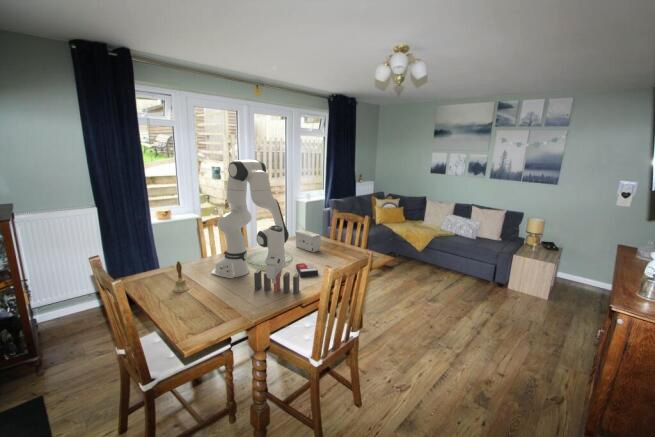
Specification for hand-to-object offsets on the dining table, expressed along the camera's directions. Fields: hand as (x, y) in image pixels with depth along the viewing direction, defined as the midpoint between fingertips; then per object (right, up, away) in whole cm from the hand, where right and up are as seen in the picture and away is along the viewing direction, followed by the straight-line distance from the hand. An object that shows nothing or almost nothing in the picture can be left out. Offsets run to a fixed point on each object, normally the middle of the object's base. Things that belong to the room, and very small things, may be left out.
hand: (276, 279), depth 169 cm
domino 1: (-11, -5, +3) cm, 13 cm away
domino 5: (+11, -7, -1) cm, 13 cm away
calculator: (+15, -1, +27) cm, 31 cm away
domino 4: (+5, -6, 0) cm, 8 cm away
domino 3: (0, -6, +1) cm, 6 cm away
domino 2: (-6, -6, +2) cm, 8 cm away
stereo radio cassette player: (+12, +10, +70) cm, 71 cm away
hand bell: (-52, -5, 0) cm, 53 cm away
